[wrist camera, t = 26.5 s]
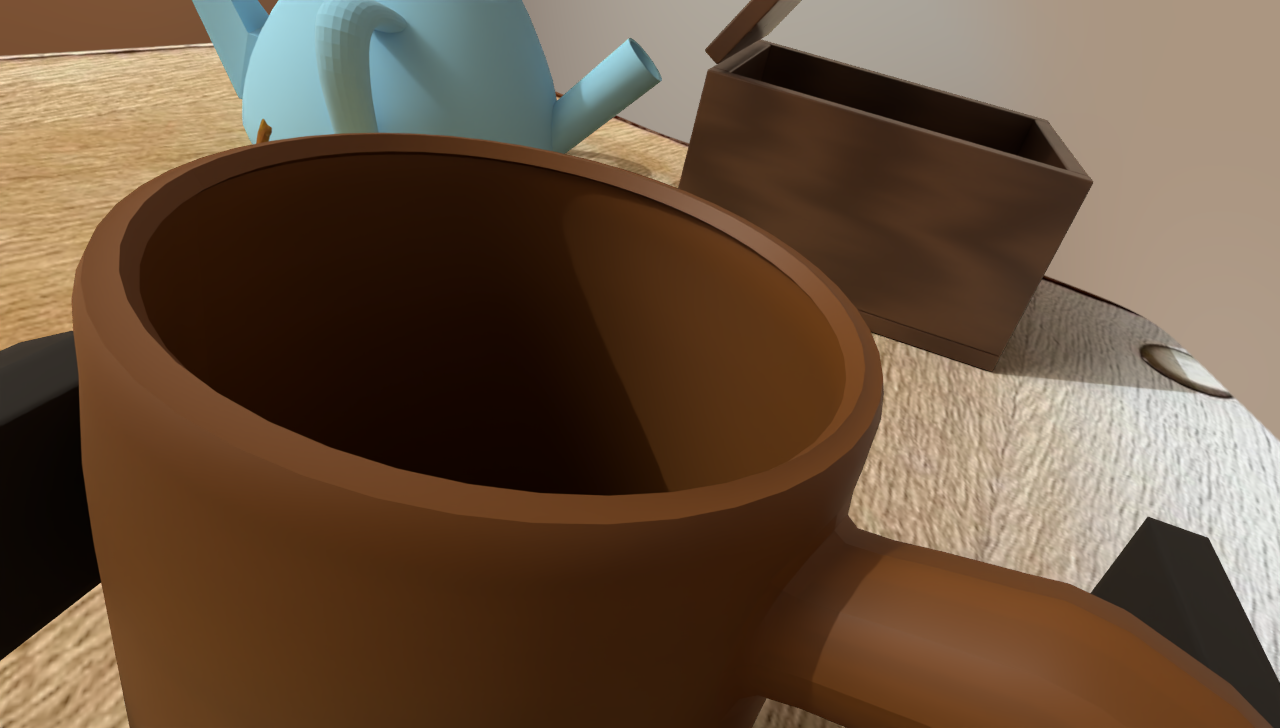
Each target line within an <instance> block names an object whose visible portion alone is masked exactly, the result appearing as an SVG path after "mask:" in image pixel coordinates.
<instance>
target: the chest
mask: <svg viewBox="0 0 1280 728" xmlns="http://www.w3.org/2000/svg"><path fill="white" fill-rule="evenodd" d="M1092 184H1093V181H1092V179H1091V178H1090V177H1089V176H1088V175H1087V173H1086V172H1085V170H1084V169H1083V168H1082V166H1081V165H1080V164H1079V162H1078V161H1077V160H1076V158H1075V157H1074V156H1073V154H1072V153H1071V152H1070V150H1069V149H1068V148H1067V146H1066V145H1065V144H1064V142H1063V141H1062V140H1061V138H1060V137H1059V136H1058V135H1057V133H1056V132H1055V130H1054V129H1053V128H1052V126H1051V125H1050V123H1049V122H1048V121H1047V120H1044V119H1041V118H1037V117H1033V116H1030V115H1026V114H1023V113H1020V112H1016V111H1012V110H1009V109H1005V108H1002V107H998V106H995V105H991V104H988V103H984V102H981V101H977V100H973V99H969V98H966V97H963V96H959V95H956V94H952V93H949V92H945V91H941V90H938V89H934V88H931V87H927V86H924V85H920V84H917V83H913V82H910V81H906V80H902V79H899V78H895V77H892V76H888V75H885V74H881V73H878V72H874V71H870V70H867V69H864V68H860V67H856V66H852V65H849V64H846V63H842V62H839V61H835V60H831V59H828V58H824V57H821V56H817V55H814V54H810V53H807V52H803V51H800V50H796V49H793V48H789V47H786V46H782V45H778V44H775V43H771V42H768V41H764V40H761V39H760V40H759V41H757V42H755V43H753V44H752V45H750V46H748V47H747V48H745V49H743V50H741V51H740V52H738V53H736V54H735V55H733V56H731V57H730V58H728V59H726V60H724V61H723V62H721V63H719V64H717V65H716V66H714V67H713V68H710V69H709V70H708V71H707V75H706V79H705V83H704V88H703V91H702V95H701V100H700V103H699V107H698V111H697V116H696V119H695V123H694V127H693V132H692V135H691V139H690V143H689V147H688V151H687V155H686V159H685V163H684V167H683V171H682V175H681V179H680V183H679V187H678V189H681V190H683V191H686V192H688V193H691V194H693V195H695V196H697V197H700V198H702V199H704V200H707V201H709V202H711V203H714V204H716V205H718V206H720V207H722V208H724V209H726V210H728V211H730V212H732V213H734V214H736V215H738V216H740V217H742V218H744V219H746V220H747V221H749V222H751V223H753V224H754V225H756V226H758V227H760V228H761V229H763V230H765V231H767V232H768V233H770V234H772V235H773V236H775V237H776V238H778V239H779V240H781V241H782V242H784V243H785V244H787V245H788V246H790V247H791V248H793V249H794V250H796V251H797V252H798V253H800V254H801V255H802V256H803V257H805V258H806V259H807V260H809V261H810V262H811V263H812V264H814V265H815V266H816V267H817V268H819V269H820V270H821V271H822V272H823V273H824V274H825V275H826V276H827V277H828V278H829V279H830V280H831V281H832V282H834V283H835V284H836V285H837V286H838V287H839V288H840V289H841V291H842V292H843V293H844V294H845V295H846V297H847V298H848V299H849V300H850V301H851V303H852V304H853V305H854V306H855V307H856V309H857V310H858V312H859V313H860V315H861V317H862V318H863V320H864V321H865V323H866V324H867V326H868V328H869V329H870V331H871V332H874V333H877V334H880V335H883V336H886V337H889V338H892V339H895V340H898V341H901V342H904V343H907V344H910V345H913V346H916V347H919V348H922V349H925V350H928V351H931V352H934V353H937V354H940V355H943V356H946V357H949V358H952V359H955V360H958V361H961V362H964V363H967V364H970V365H973V366H976V367H979V368H982V369H985V370H988V371H991V372H992V371H993V369H994V368H995V366H996V364H997V362H998V360H999V358H1000V356H1001V354H1002V353H1003V351H1004V349H1005V347H1006V345H1007V343H1008V341H1009V339H1010V338H1011V336H1012V334H1013V332H1014V330H1015V328H1016V326H1017V324H1018V323H1019V321H1020V319H1021V317H1022V315H1023V313H1024V311H1025V310H1026V308H1027V306H1028V304H1029V302H1030V300H1031V298H1032V296H1033V295H1034V293H1035V291H1036V289H1037V287H1038V285H1039V283H1040V281H1041V280H1042V278H1043V276H1044V274H1045V272H1046V270H1047V268H1048V266H1049V265H1050V263H1051V261H1052V259H1053V257H1054V255H1055V253H1056V252H1057V250H1058V248H1059V246H1060V244H1061V242H1062V240H1063V238H1064V237H1065V234H1066V233H1067V231H1068V229H1069V227H1070V225H1071V224H1072V222H1073V220H1074V218H1075V216H1076V214H1077V212H1078V210H1079V209H1080V207H1081V205H1082V203H1083V201H1084V199H1085V197H1086V195H1087V194H1088V192H1089V190H1090V188H1091V186H1092Z"/></svg>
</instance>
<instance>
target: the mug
mask: <svg viewBox="0 0 1280 728" xmlns="http://www.w3.org/2000/svg"><path fill="white" fill-rule="evenodd" d="M72 316H73V333H74V341H75V349H76V357H77V365H78V373H79V401H80V428H81V452H82V467H83V474H84V481H85V488H86V495H87V503H88V509H89V516H90V522H91V529H92V535H93V542H94V547H95V553H96V558H97V563H98V568H99V573H100V578H101V583H102V588H103V593H104V598H105V604H106V609H107V614H108V619H109V624H110V629H111V634H112V639H113V644H114V650H115V655H116V660H117V665H118V670H119V675H120V680H121V685H122V690H123V696H124V701H125V706H126V711H127V716H128V721H129V726H130V728H752V726H753V724H754V722H755V720H756V718H757V716H758V714H759V712H760V710H761V708H762V706H763V704H764V702H765V700H766V698H768V699H771V700H775V701H778V702H781V703H784V704H787V705H790V706H794V707H797V708H800V709H803V710H805V711H807V712H810V713H812V714H815V715H817V716H820V717H822V718H825V719H827V720H829V721H832V722H834V723H837V724H839V725H842V726H844V727H847V728H1273V727H1272V726H1271V725H1270V724H1269V723H1268V722H1267V721H1266V720H1265V719H1264V718H1263V717H1262V716H1261V715H1260V714H1259V713H1258V712H1257V711H1256V710H1255V709H1254V708H1253V707H1252V705H1251V704H1250V703H1249V702H1248V701H1247V700H1246V699H1245V698H1244V697H1243V696H1242V695H1241V694H1240V693H1239V692H1238V691H1237V690H1236V689H1235V688H1234V687H1233V686H1232V685H1231V684H1230V683H1228V682H1227V681H1225V680H1224V679H1223V678H1221V677H1220V676H1218V675H1217V674H1216V673H1214V672H1213V671H1211V670H1210V669H1209V668H1207V667H1206V666H1204V665H1203V664H1202V663H1200V662H1199V661H1197V660H1196V659H1194V658H1193V657H1192V656H1190V655H1189V654H1187V653H1186V652H1185V651H1183V650H1182V649H1180V648H1179V647H1178V646H1176V645H1175V644H1173V643H1172V642H1171V641H1169V640H1168V639H1166V638H1165V637H1163V636H1162V635H1161V634H1159V633H1158V632H1156V631H1155V630H1154V629H1152V628H1151V627H1149V626H1148V625H1147V624H1145V623H1144V622H1142V621H1141V620H1140V619H1138V618H1137V617H1135V616H1134V615H1132V614H1131V613H1129V612H1128V611H1126V610H1124V609H1122V608H1120V607H1118V606H1116V605H1114V604H1112V603H1109V602H1107V601H1105V600H1103V599H1101V598H1099V597H1097V596H1094V595H1092V594H1090V593H1088V592H1086V591H1084V590H1081V589H1079V588H1077V587H1075V586H1073V585H1071V584H1068V583H1064V582H1060V581H1055V580H1051V579H1047V578H1043V577H1039V576H1035V575H1030V574H1026V573H1022V572H1019V571H1015V570H1011V569H1007V568H1003V567H1000V566H996V565H992V564H988V563H984V562H980V561H977V560H973V559H969V558H965V557H961V556H957V555H953V554H949V553H946V552H942V551H937V550H933V549H929V548H925V547H920V546H916V545H912V544H908V543H903V542H899V541H895V540H891V539H888V538H885V537H882V536H879V535H876V534H873V533H870V532H867V531H864V530H861V529H858V528H857V527H856V525H855V524H854V523H853V521H852V520H851V519H850V517H849V516H848V512H849V507H850V503H851V499H852V495H853V490H854V488H855V486H856V483H857V481H858V479H859V476H860V474H861V472H862V469H863V466H864V464H865V461H866V458H867V456H868V453H869V450H870V448H871V445H872V442H873V439H874V437H875V434H876V431H877V429H878V426H879V423H880V420H881V414H882V404H883V395H884V391H883V374H882V368H881V361H880V355H879V351H878V349H877V346H876V344H875V341H874V339H873V336H872V334H871V331H870V329H869V328H868V326H867V324H866V323H865V321H864V320H863V318H862V317H861V315H860V313H859V312H858V310H857V309H856V307H855V306H854V305H853V304H852V303H851V301H850V300H849V299H848V298H847V297H846V295H845V294H844V293H843V292H842V291H841V289H840V288H839V287H838V286H837V285H836V284H835V283H834V282H832V281H831V280H830V279H829V278H828V277H827V276H826V275H825V274H824V273H823V272H822V271H821V270H820V269H819V268H817V267H816V266H815V265H814V264H812V263H811V262H810V261H809V260H807V259H806V258H805V257H803V256H802V255H801V254H800V253H798V252H797V251H796V250H794V249H793V248H791V247H790V246H788V245H787V244H785V243H784V242H782V241H781V240H779V239H778V238H776V237H775V236H773V235H772V234H770V233H768V232H767V231H765V230H763V229H761V228H760V227H758V226H756V225H754V224H753V223H751V222H749V221H747V220H746V219H744V218H742V217H740V216H738V215H736V214H734V213H732V212H730V211H728V210H726V209H724V208H722V207H720V206H718V205H716V204H714V203H711V202H709V201H707V200H704V199H702V198H700V197H697V196H695V195H693V194H691V193H688V192H686V191H683V190H681V189H678V188H675V187H673V186H670V185H667V184H665V183H662V182H659V181H657V180H654V179H651V178H648V177H645V176H642V175H639V174H636V173H633V172H630V171H627V170H624V169H620V168H617V167H613V166H609V165H606V164H602V163H599V162H595V161H592V160H588V159H584V158H579V157H575V156H571V155H567V154H562V153H558V152H553V151H548V150H543V149H538V148H533V147H528V146H523V145H516V144H510V143H503V142H497V141H490V140H483V139H474V138H465V137H456V136H444V135H430V134H414V133H342V134H329V135H315V136H304V137H296V138H289V139H281V140H274V141H268V142H263V143H258V144H253V145H248V146H243V147H238V148H234V149H230V150H227V151H223V152H220V153H216V154H213V155H209V156H206V157H202V158H199V159H197V160H194V161H192V162H189V163H187V164H184V165H181V166H179V167H176V168H174V169H171V170H169V171H167V172H165V173H163V174H161V175H160V176H158V177H156V178H154V179H152V180H150V181H148V182H147V183H145V184H143V185H141V186H140V187H138V188H137V189H136V190H134V191H133V192H132V193H130V194H129V195H128V196H127V197H125V198H124V199H123V200H121V201H120V202H119V203H117V204H116V205H115V206H114V207H113V209H112V210H111V211H110V212H109V213H108V214H107V215H106V217H105V218H104V219H103V220H102V221H101V222H100V223H99V224H98V226H97V227H96V229H95V231H94V233H93V235H92V237H91V239H90V241H89V243H88V245H87V247H86V249H85V251H84V253H83V256H82V258H81V260H80V262H79V264H78V266H77V269H76V273H75V280H74V287H73V294H72Z"/></svg>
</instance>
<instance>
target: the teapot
mask: <svg viewBox="0 0 1280 728" xmlns="http://www.w3.org/2000/svg"><path fill="white" fill-rule="evenodd" d="M192 1H193V3H194V5H195V8H196V10H197V12H198V14H199V16H200V18H201V20H202V22H203V24H204V26H205V28H206V30H207V33H208V35H209V37H210V39H211V41H212V43H213V45H214V47H215V49H216V51H217V53H218V55H219V58H220V60H221V62H222V64H223V66H224V68H225V70H226V72H227V74H228V76H229V78H230V81H231V83H232V85H233V87H234V89H235V91H236V93H237V95H238V97H239V98H240V99H242V118H243V126H244V128H245V130H246V133H247V135H248V137H249V139H250V141H251V143H252V144H256V141H257V133H258V130H259V127H260V123H261V120H262V119H265V121H266V123H267V125H269V126H270V127H272V133H271V135H270V139H269V141H274V140H281V139H289V138H296V137H304V136H315V135H329V134H342V133H414V134H430V135H444V136H456V137H465V138H474V139H483V140H490V141H497V142H503V143H510V144H516V145H523V146H528V147H533V148H538V149H543V150H548V151H553V152H558V153H562V154H565V153H567V152H568V151H569V150H571V149H572V148H573V147H575V146H576V145H577V144H579V143H580V142H581V141H582V140H584V139H585V138H586V137H588V136H589V135H590V134H592V133H593V132H594V131H596V130H597V129H598V128H600V127H601V126H602V125H604V124H605V123H606V122H608V121H609V120H610V119H612V118H613V117H614V116H616V115H617V114H618V113H620V112H621V111H622V110H624V109H625V108H626V107H627V106H629V105H630V104H632V103H633V102H634V101H635V100H637V99H638V98H639V97H641V96H642V95H643V94H645V93H646V92H647V91H649V90H650V89H651V88H653V87H654V86H655V85H656V84H658V83H659V82H660V81H662V78H661V75H660V73H659V71H658V69H657V68H656V66H655V65H654V63H653V61H652V60H651V59H650V57H649V56H648V55H647V53H646V52H645V51H644V50H643V48H642V47H641V46H640V45H639V44H638V43H637V42H636V41H634V40H633V39H632V38H629V39H628V40H627V41H625V42H624V43H623V44H622V45H621V46H620V47H618V48H617V49H616V50H615V51H614V52H613V53H612V54H610V55H609V56H608V57H607V58H606V59H605V60H603V61H602V62H601V63H600V64H599V65H598V66H597V67H596V68H594V69H593V70H592V71H591V72H590V73H589V74H587V75H586V76H585V77H584V78H583V79H582V80H580V82H578V83H577V84H576V85H575V86H574V87H572V88H571V89H570V90H569V91H568V92H567V93H565V94H564V95H563V96H562V97H561V98H560V99H559V100H557V99H556V94H555V89H554V85H553V80H552V77H551V73H550V70H549V67H548V64H547V61H546V57H545V55H544V52H543V50H542V47H541V44H540V42H539V39H538V36H537V34H536V31H535V29H534V26H533V24H532V22H531V19H530V16H529V14H528V12H527V10H526V8H525V6H524V4H523V2H522V0H279V1H278V2H277V4H276V5H275V7H274V8H273V10H272V12H271V14H270V15H268V14H267V12H266V11H265V10H264V8H263V7H262V6H261V4H260V3H259V2H258V0H192Z"/></svg>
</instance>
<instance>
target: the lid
mask: <svg viewBox="0 0 1280 728" xmlns="http://www.w3.org/2000/svg"><path fill="white" fill-rule="evenodd" d="M800 2H801V0H751V1H750V2H749V3H748V4H747V5H746V6H745V7H744V8H743V9H742V10H741V11H740V13H739V14H738V15H737V16H736V17H735V18H734V19H733V20H732V21H731V22H730V23H729V24H728V25H727V26H726V28H725V29H724V30H723V31H722V32H721V33H720V34H719V35H718V36H717V37H716V38H715V39H714V40H713V41H712V43H711V44H710V45H709V46H708V47H707V48H706V49H705V51H706V53H707V54H708V55H709V56H710V57H711V58H712V59H713V61H714V62H715V63H716V64H719V63H721V62H723V61H724V60H726V59H728V58H730V57H731V56H733V55H735V54H736V53H738V52H740V51H741V50H743V49H745V48H747V47H748V46H750V45H752V44H753V43H755V42H757V41H759V40H760V39H762V38H763V37H765V36H767V35H768V34H769V33H770V32H771V31H772V30H773V29H774V28H775V27H776V26H777V25H778V24H779V23H780V22H781V21H782V20H783V19H784V18H785V17H786V16H787V15H788V14H789V13H790V12H791V11H792V10H793V9H794V8H795V7H796V6H797V5H798V4H799V3H800Z"/></svg>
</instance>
